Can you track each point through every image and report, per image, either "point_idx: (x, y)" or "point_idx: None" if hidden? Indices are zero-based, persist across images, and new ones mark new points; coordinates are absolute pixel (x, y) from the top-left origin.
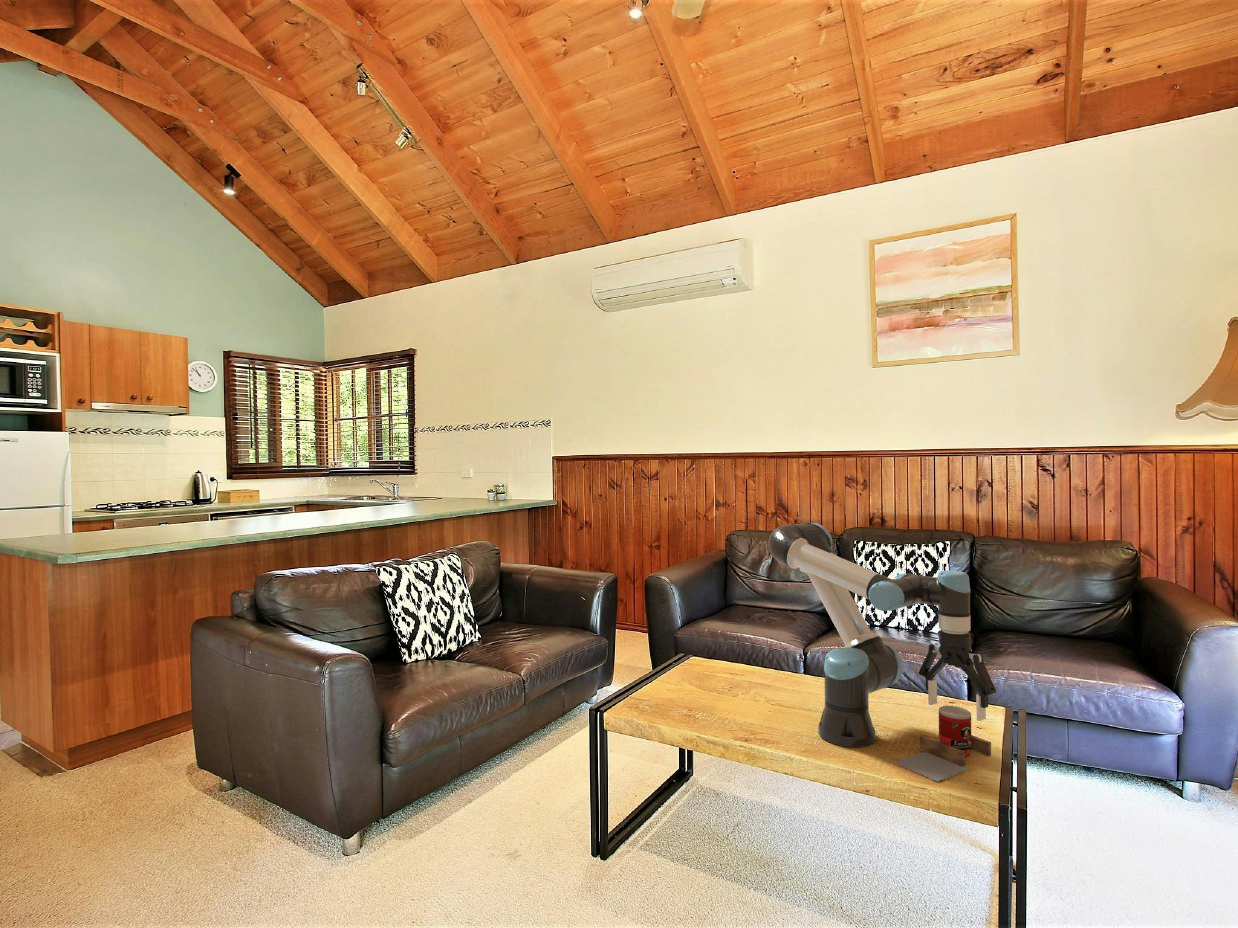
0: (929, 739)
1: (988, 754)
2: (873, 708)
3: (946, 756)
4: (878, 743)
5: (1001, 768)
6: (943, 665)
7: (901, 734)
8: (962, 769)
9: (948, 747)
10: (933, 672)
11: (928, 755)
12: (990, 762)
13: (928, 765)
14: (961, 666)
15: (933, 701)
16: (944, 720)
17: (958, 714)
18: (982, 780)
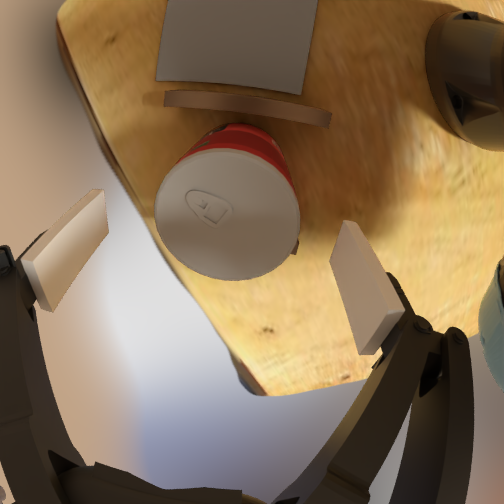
0: (295, 109)
1: None
2: (464, 273)
3: (228, 93)
4: (417, 74)
5: (118, 166)
6: (315, 464)
7: (396, 176)
8: (163, 65)
9: (216, 94)
10: (389, 372)
11: (277, 73)
12: (149, 177)
13: (241, 12)
14: (25, 460)
15: (341, 244)
16: (244, 144)
17: (198, 204)
18: (110, 64)
